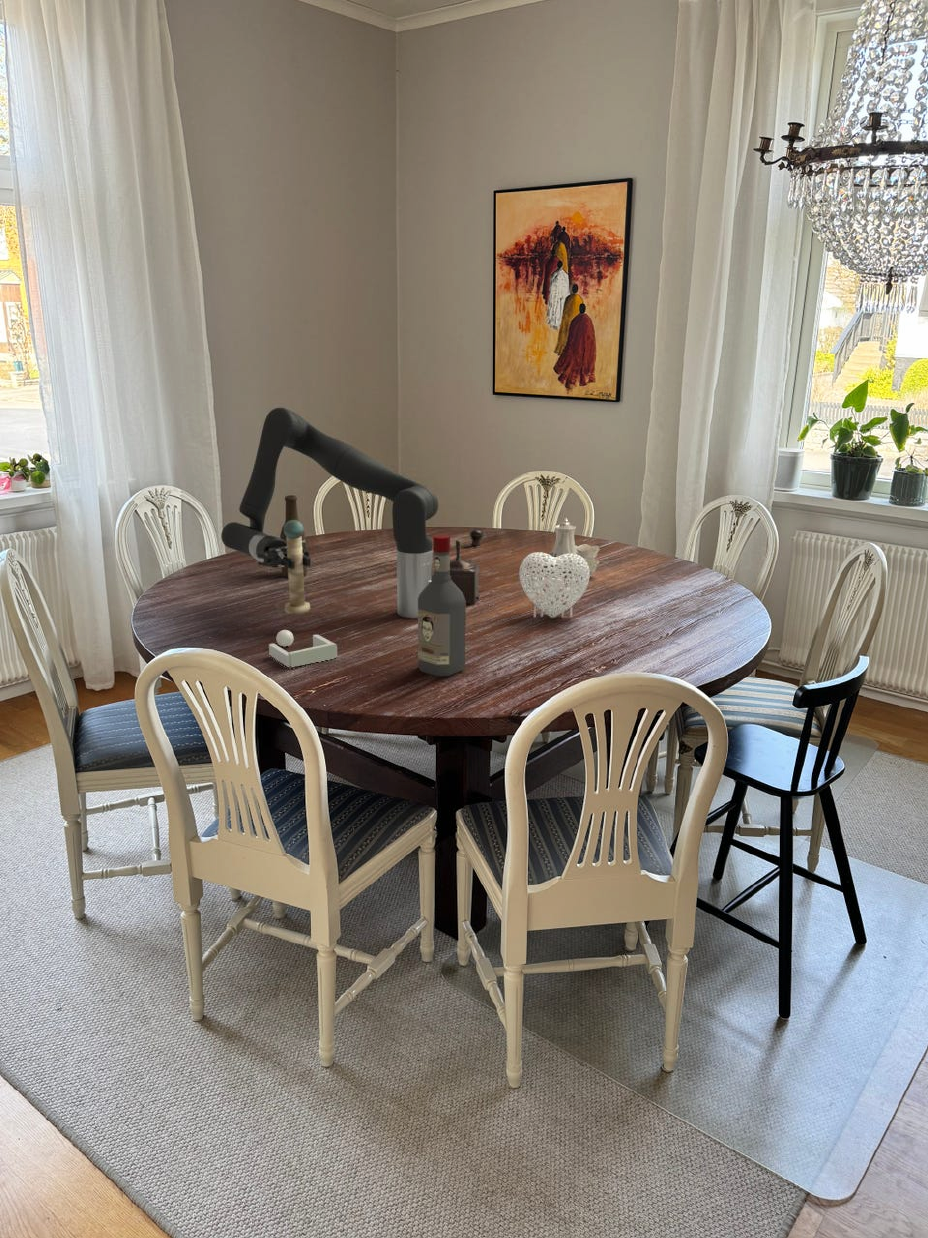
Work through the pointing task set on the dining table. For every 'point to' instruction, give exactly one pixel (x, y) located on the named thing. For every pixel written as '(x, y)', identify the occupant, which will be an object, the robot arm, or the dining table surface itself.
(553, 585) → the decorative heart
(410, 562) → the robot arm
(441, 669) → the liquor
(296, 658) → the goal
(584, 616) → the dining table surface
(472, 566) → the manual coffee grinder
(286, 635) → the ball
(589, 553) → the chinaware
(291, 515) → the beer bottle
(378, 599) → the dining table surface
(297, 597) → the post
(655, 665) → the dining table surface
